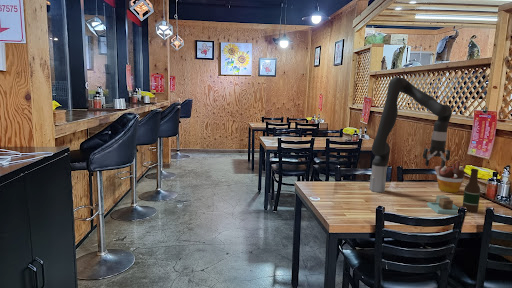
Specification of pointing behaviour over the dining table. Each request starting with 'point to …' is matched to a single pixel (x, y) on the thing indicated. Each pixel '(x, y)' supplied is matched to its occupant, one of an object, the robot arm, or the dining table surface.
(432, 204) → the teal tray
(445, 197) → the sage block
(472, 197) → the beer bottle
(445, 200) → the walnut block
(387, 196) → the dining table surface
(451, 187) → the bucket of meat
